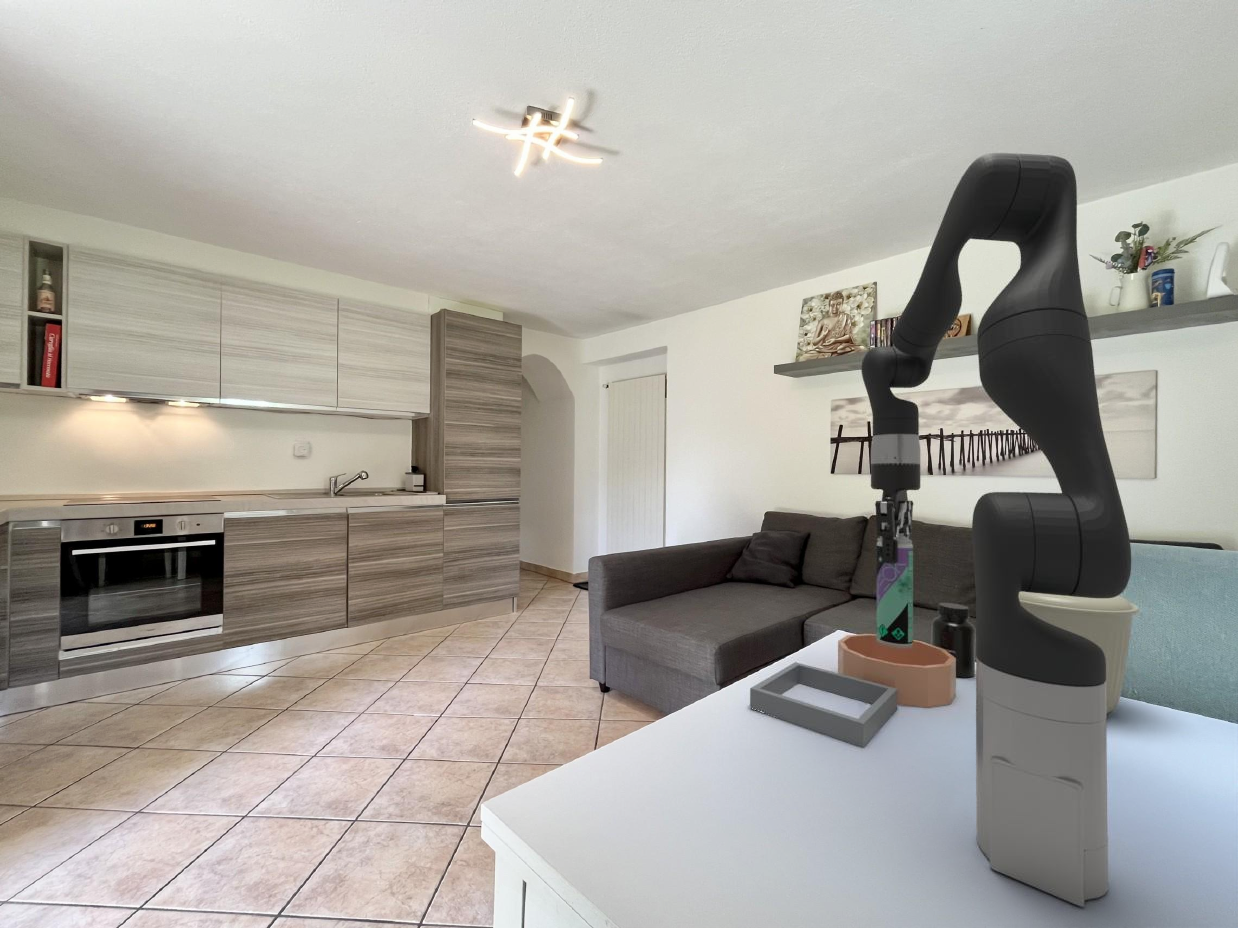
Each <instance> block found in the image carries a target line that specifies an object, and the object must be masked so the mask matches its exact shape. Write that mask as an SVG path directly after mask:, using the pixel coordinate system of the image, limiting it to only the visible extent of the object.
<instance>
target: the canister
mask: <svg viewBox="0 0 1238 928" xmlns="http://www.w3.org/2000/svg"><path fill="white" fill-rule="evenodd" d="M1019 601H1020V604H1021V606H1022V607H1023V608H1025V609H1026V610H1027V611H1028V612H1030V613H1031V614H1033V615H1034V616H1036V617H1038V618H1039V619H1041V620H1043V621H1045V622H1047V623H1049V624H1052V625H1054V626H1057V627H1059V628H1062V629H1064V630H1067V631H1070V632H1072V633H1075V634H1077V635H1080V636H1082V637H1084V638H1086V639H1088V640H1090V641H1092V642H1093V643H1095V644H1096V645H1098V646H1099V647H1100V648H1101V649H1102V651H1103V652H1104V655H1105V660H1106V712H1107V714H1108V713H1111V712H1112V711H1113V710H1115V709H1116V707H1117V706H1118V704H1119V701H1120V700H1121V694H1122V689H1123V685H1124V679H1125V674H1126V667H1127V660H1128V654H1129V646H1130V638H1131V632H1132V623H1133V616H1134V615H1135V614H1138V612H1139V611H1140V607H1139V606H1138V605H1136V604H1134V603H1131V602H1129V601H1128V599H1126V598H1125V597H1122V596H1121V595H1118V596H1116V597H1113V598H1085V597H1073V596H1063V595H1052V594H1041V593H1031V592H1019Z"/></svg>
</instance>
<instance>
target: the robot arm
mask: <svg viewBox="0 0 1238 928" xmlns="http://www.w3.org/2000/svg"><path fill="white" fill-rule="evenodd" d="M1075 173H1076V172H1075V170H1074V168H1073V165H1072V164H1071V163H1070V162H1069V161H1068V160H1067V159H1065V158H1063V157H1061V156H1058V155H1052V154H1051V155H1048V154H1036V153H1035V154H1031V153H1017V152H1016V153H1008V152H992V153H991V152H990V153H985V154H982V155H981V156H979V157H977V158H976V159H975V160H974V161H973V162H972V163H971V164H970V165H969V166H968V168H967V169H966V171H965V172H964V173H963V175H962V176H961V177H960V180H959V181H958V183H957V185H956V187H955V189H954V191H953V193H952V196H951V198H950V199H949V203H948V205H947V208H946V211H945V212H944V215H943V217H942V220H941V222H940V225H939V228H938V230H937V232H936V236H935V238H934V240H933V242H932V245H931V248H930V250H929V253H928V255H927V258H926V260H925V264H924V266H923V269H922V272H921V275H920V277H919V279H918V282H917V285H916V287H915V288H914V290H913V293H912V295H911V297H910V299H909V301H908V303H906V306H905V308H904V309H903V311H902V313H901V314H900V317H898V319H897V321H896V323H895V325H894V327H893V328H892V332H891V336H890V337H891V338H890V339H891V342H892V345H893V346H875V347H872V348H871V349H869V350H868V351H867V353H865V356H864V357H863V359H862V362H861V369H860V370H861V376H862V380H863V384H864V387H865V390H866V392H867V393H866V394H867V396H868V400H869V404H870V409H871V412H872V440H871V447H870V487H871V489H873V490H882V496H881V500H876V501H875V503H874V506H875V517H876V518H875V519H876V520H875V521H876V535H877V537H879V538H881V540H882V561H883V562H885V563H893V564H894V563H897V562H898V538H899V536H898V535H899V529H901V531H902V533H904V536H906V537H907V538H908V539H910V535H911V534H912V532H913V514H914V513H913V511H914V510H913V508H914V507H913V506H914V502H913V500H909V499H908V498H909V497H908V493H907V492H908V491H919V490H920V489H921V444H920V437H919V434H920V430H919V429H920V426H919V425H920V423H919V422H920V420H919V417H920V413H919V406H918V404H916V403H915V402H913V401H911V400H907V399H906V400H905V399H902V398H899V397H896V396H895V394H894V393H893V391H892V390H891V389H896V388H897V389H911V388H913V389H914V388H916V387H918V386H921V385H922V384H924V383H925V382H926V381H927V380H928V378H929V377H930V374H931V371H932V366H933V363H934V358H935V355H936V352H937V349H938V347H939V344H940V343H941V341H942V340H943V339H944V337H945V335H946V334H947V333H948V331H949V330H950V329H951V328H952V325H953V324H954V323H955V321H956V320H957V318H958V316H959V314H960V311H961V308H962V304H963V291H962V289H963V288H962V284H961V278H960V273H959V272H960V271H959V258H960V255H961V252H962V250H963V248H964V247H965V245H966V244H967V242H968V241H970V240H982V241H983V240H984V241H994V242H1008V243H1014V244H1015V245H1016V246H1017V247H1018V250H1019V253H1020V264H1019V268H1018V271H1017V272H1016V273H1015V275H1014V276H1013V277H1012V278H1011V280H1010V281H1009V282H1008V284H1006V286H1005V287H1003V289H1002V290H1001V291H1000V293H999V294H998V295H997V296H996V297H995V298H994V300H993V301H992V302H991V304H990V305H989V307H988V308H987V309H986V311H985V312H984V313H983V315H982V317H981V319H980V322H979V325H978V328H977V334H976V336H977V343H976V344H977V353H978V354H977V356H978V369H979V378H980V379H979V380H980V383H981V386H982V387H983V390H984V391H985V393H986V394H987V396H988V397H989V398H990V399H991V401H993V403H994V404H995V405H996V406H997V407H998V408H999V409H1000V410H1001V411H1002V412H1003V413H1004V414H1005V415H1006V416H1007V417H1008V418H1009V419H1010V420H1011V421H1012V422H1013V423H1014V424H1015V425H1017V427H1018V428H1020V429H1021V430H1022V431H1023V432H1024V433H1025V435H1027V436H1028V437H1029V438H1030V439H1031V440H1032V441H1033V442H1034V443H1035V445H1036V446H1037V447H1038V448H1039V450H1040V451H1041V452H1042V454H1043V455H1044V457H1046V458H1045V459H1046V460H1047V461H1048V463H1049V464H1050V466H1051V469H1052V470H1053V473H1054V475H1055V477H1056V480H1057V482H1058V485H1059V487H1060V490H1061V492H1035V491H1034V492H1030V491H1029V492H1028V491H1027V492H1025V491H1023V492H1020V491H992V492H987V493H985V494H983V495H981V496H980V497H979V498H978V500H977V502H976V504H975V506H974V508H973V514H972V520H971V521H972V525H971V542H972V543H971V544H972V554H973V557H972V558H973V567H974V580H975V581H974V583H975V585H974V587H975V608H976V609H975V614H976V615H975V617H976V618H975V620H976V623H975V625H976V626H975V631H976V637H975V673H976V674H975V675H976V676H975V678H976V680H975V681H976V682H975V684H976V685H975V686H976V687H975V704H976V705H975V711H976V712H975V714H976V715H975V723H976V724H975V725H976V726H975V728H976V729H975V737H976V738H975V745H976V746H975V747H976V748H975V750H976V751H975V761H976V762H975V763H976V764H975V766H976V767H975V769H976V770H975V772H976V774H975V775H976V777H975V779H976V780H975V783H976V785H975V786H976V787H975V789H976V791H975V796H976V797H975V798H976V802H975V803H976V807H975V808H976V841H977V844H978V846H979V848H980V850H981V851H982V852H983V853H984V855H985V856H986V857H987V858H988V860H989V868H990V869H992V870H994V871H996V872H998V873H1001V874H1003V875H1006V876H1009V877H1010V878H1013V879H1014V880H1017V881H1019V882H1022V883H1024V884H1027V885H1029V886H1032V887H1034V888H1037V889H1038V890H1041V891H1043V892H1046V893H1047V894H1051V895H1052V896H1055V897H1056V898H1059V899H1061V900H1064V901H1066V902H1068V903H1072V904H1074V905H1075V906H1079V907H1081V908H1083V907H1085V902H1086V900H1087V901H1088V900H1093V899H1098V898H1100V897H1103V896H1105V894H1106V893H1107V892H1108V890H1109V838H1108V836H1109V835H1108V832H1109V831H1108V828H1109V827H1108V755H1107V754H1108V751H1107V746H1108V743H1107V714H1108V713H1107V712H1106V660H1105V655H1104V652H1103V651H1102V649H1101V648H1100V647H1099V646H1098V645H1096V644H1095V643H1093V642H1092V641H1090V640H1088V639H1086V638H1084V637H1082V636H1080V635H1077V634H1075V633H1072V632H1070V631H1067V630H1064V629H1062V628H1059V627H1057V626H1054V625H1052V624H1049V623H1047V622H1045V621H1043V620H1041V619H1039V618H1038V617H1036V616H1034V615H1033V614H1031V613H1030V612H1028V611H1027V610H1026V609H1025V608H1023V607H1022V606H1021V604H1020V601H1019V592H1031V593H1041V594H1052V595H1063V596H1073V597H1085V598H1113V597H1116V596H1118V595H1119V596H1121V594H1122V593H1123V592H1124V591H1125V589H1126V588H1127V586H1128V583H1129V581H1130V578H1131V573H1132V570H1131V569H1132V548H1131V540H1130V535H1129V534H1130V533H1129V528H1128V523H1127V520H1126V515H1125V510H1124V508H1123V507H1124V506H1123V503H1122V499H1121V495H1120V492H1119V489H1118V487H1119V486H1118V485H1117V484H1118V483H1117V481H1116V477H1115V473H1114V468H1113V465H1112V462H1111V459H1110V454H1109V451H1108V446H1107V443H1106V438H1105V434H1104V430H1103V425H1102V420H1101V413H1100V407H1099V406H1100V404H1099V398H1098V392H1097V391H1098V390H1097V383H1096V377H1095V376H1096V374H1095V364H1094V356H1093V347H1092V337H1091V333H1090V328H1089V320H1088V317H1087V312H1086V308H1085V304H1084V298H1083V290H1082V283H1081V275H1080V265H1079V255H1078V240H1077V239H1078V235H1077V234H1078V227H1077V226H1078V222H1077V221H1078V219H1077V217H1078V194H1077V193H1078V191H1077V190H1078V189H1077V188H1078V187H1077V180H1076V174H1075ZM889 527H890V530H889ZM887 528H888V529H887Z"/></svg>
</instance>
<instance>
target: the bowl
mask: <svg viewBox="0 0 1238 928" xmlns="http://www.w3.org/2000/svg"><path fill="white" fill-rule="evenodd" d="M837 673H839V674H843V675H847V676H851V677H854V678H858V679H862V680H866V681H870V682H874V683H878V684H881V685H885V686H889V687H893V688H897V689H898V705H899V706H900V705H901V706H908V707H909V706H910V707H917V708H925V709H926V708H928V709H929V708H934V707H936V708H937V707H940V706H941V707H942V706H949V705H951V704H952V703H953V701H954V699H955V698H956V695H957V693H956V692H957V686H956V685H957V681H956V680H957V679H956V678H957V677H956V658H955V657H953V656H952V655H951V654H950V653H948V652H947V651H946V650H944V649H942V648H939V647H936V646H933V645H931V643H930V644H929V643H927V642H925V641H920V640H916V639H913V647H911V648H893V647H888V646H885V645H882V644H879V643H878V642H877V638H876V633H875V634H873V633H862V634H860V633H859V634H850V635H849V634H848V635H845V636H844V637H842V638H841V639H839V640H837Z"/></svg>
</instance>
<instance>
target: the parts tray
mask: <svg viewBox="0 0 1238 928" xmlns="http://www.w3.org/2000/svg"><path fill="white" fill-rule="evenodd" d="M797 684H800V685H801V684H802V685H805V686H807V687H811V688H814V689H818V690H821V691H826V692H828V693H832V694H836V695H839V696H843V697H846V698H850V699H852V700H855V701H856V700H857V701H859V702H864V703H867V704H870V706H869V707H868V708H867V709H866V710H865V711H864V712H863V713H862V714H861V715H860V716H859V717H858V718H856V717H853V716H850V715H847V714H844V713H841V712H838V711H834V710H830V709H828V708H824V707H821V706H819V705H815V704H813V703H809V702H806V701H805V702H804V701H802V700H799V699H796V698H792V697H789V696H786V695H783V694H784V693H786V692H788V691H789V690H790V689H791V688H793V687H794V686H796V685H797ZM749 689H750V690H749V691H750V692H749V693H750V695H749V708H750V707H751V708H753V709H756V710H759V711H762V712H764V713H766V714H765V715H767V714H769V715H768V716H770V715H772V716H771V717H773V716H775V717H774V718H776V717H777V718H776V719H779V718H780V719H779V720H781V721H782V720H783V721H785V722H787V721H788V723H790V722H791V724H794V725H796V726H800V727H802V728H804V729H805V728H806V729H809V730H811V731H814V732H816V733H820V734H823V735H825V736H829V737H832V738H833V739H838V740H841V741H843V742H846V743H849V744H852V745H854V746H858V747H861V748H865V747H866V745H867V744H868V743H869V742H870V741H871V740H872V738H873V737H874V736H875V735H876V734H877V733H878V732H879V731H880V729H881V728H882V727H883V726H884V725H885V723H886V722H887V721H889V719H890V718H891V717H892V716H893V715H894V714H895V712H896V711H897V710H898V689H897V688H893V687H889V686H885V685H881V684H878V683H874V682H870V681H866V680H862V679H858V678H854V677H851V676H847V675H843V674H839V673H838V672H835V671H830V670H829V669H828V670H827V669H823V668H819V667H816V666H811V665H808V664H804V663H799V662H796V661H795V662H793V663H791V664H789V665H788V666H786V667H784V668H783V669H780V670H779V671H777V672H776V673H774V674H772V675H771V676H769V677H767V678H765V679H764V680H762V681H761V682H759V683H757V684H755V685H753V686H751V687H750V688H749ZM764 713H763V714H764Z"/></svg>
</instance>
